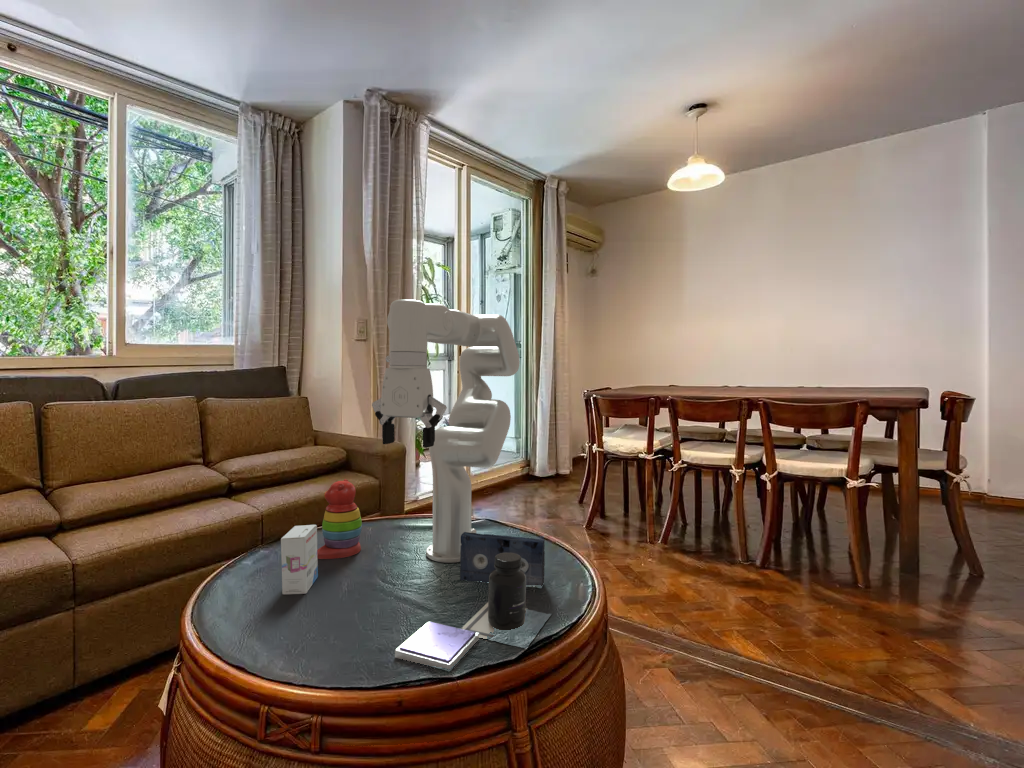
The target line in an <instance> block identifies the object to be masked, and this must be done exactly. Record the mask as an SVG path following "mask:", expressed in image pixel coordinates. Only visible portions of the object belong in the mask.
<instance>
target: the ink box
mask: <svg viewBox="0 0 1024 768" xmlns="http://www.w3.org/2000/svg"><path fill="white" fill-rule="evenodd" d="M317 527H318V526H317V524H306V525H294V526H293V527H292V528H291V529H290V530H289V531H288V532H287V533H286V534H284V535H283V536H282V537H281V538H280V548H281V549H280V550H281V551H280V555H281V586H282V587H281V588H282V589H281V590H282V593H281V594H282V595H303V594H304V595H305V594H307V593H308V592H309V591H310V589H311V587H312V586H313V585H314V583H315V582H316V581H317V579H318V578H319V573H318V572H319V571H318V570H319V568H318V567H319V565H318V564H319V563H318V559H317V550H318V528H317Z"/></svg>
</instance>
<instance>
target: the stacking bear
mask: <svg viewBox="0 0 1024 768" xmlns="http://www.w3.org/2000/svg"><path fill="white" fill-rule="evenodd" d="M356 492H357V491H356V487H355V485H354V484H353V483H352V482H350V481H349V479H347V478H344V480H338V481H335V482H333V483H332V484H331V485H330V487H329V488H328V489H327V490H326V491H325V492H324V494H323V496H324V499H325V500H326V502H327V503H328V505H327V506H326V507H325V511H324V516H323V520H322V525H321V528H322V529H321V532H322V536H323V542H324V545H322V546H321V547H319V548H317V560H334V559H342V558H348V557H352V556H354V555H357V554H359V553H360V551H361V550H362V546H361V543H360V542H359V541H360V538H361V533H362V527H363V526H362V525H363V523H362V516H361V512H360V508H359V507H358V505H357V504H356V503H355V502H354V500H355V497H356V494H357V493H356Z"/></svg>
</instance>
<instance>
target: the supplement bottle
mask: <svg viewBox="0 0 1024 768" xmlns="http://www.w3.org/2000/svg"><path fill="white" fill-rule="evenodd" d="M494 567H495V569H494V570H493V571H492V572H491V573H490V575H489V583H488V601H487V603H488V621H489V623H490V625H491V626H492V627H494V628H496V629H499V630H511V629H515V628H518V627H520V626H522V625H523V624H524V622H525V613H526V609H527V607H526V606H527V603H526V601H527V598H526V597H527V587H526V575H525V573H524V572H523V571H522V570H521V556H520V555H518V554H515V553H500V554H497V555H496V556H495V563H494Z"/></svg>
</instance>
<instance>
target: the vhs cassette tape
mask: <svg viewBox="0 0 1024 768" xmlns="http://www.w3.org/2000/svg"><path fill="white" fill-rule="evenodd" d="M461 544H462V545H461V547H460V548H461V550H460V555H461V557H460V562H459V569H460V570H459V572H460V573H459V579H460V580H461V581H463V580H467V581H466V582H472V581H479V582H478V583H482V582H489V575H490V573H491V572H492V571H493V570H494V569H495V567H494V563H495V556H496V555H497V554H500V553H515V554H518V555H520V556H521V570H522V571H523V572H524V573H525V575H526V585H541V586H542V585H543V583H544V584H545V566H546V565H545V564H546V563H545V559H546V557H545V555H546V553H545V539H543V538H541V539H539V538H532V537H523V536H522V537H521V536H520V537H519V536H510V535H499V534H486V533H478V532H477V533H468V532H464V533H463V534H462V535H461ZM480 581H482V582H480ZM543 586H544V585H543Z"/></svg>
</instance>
